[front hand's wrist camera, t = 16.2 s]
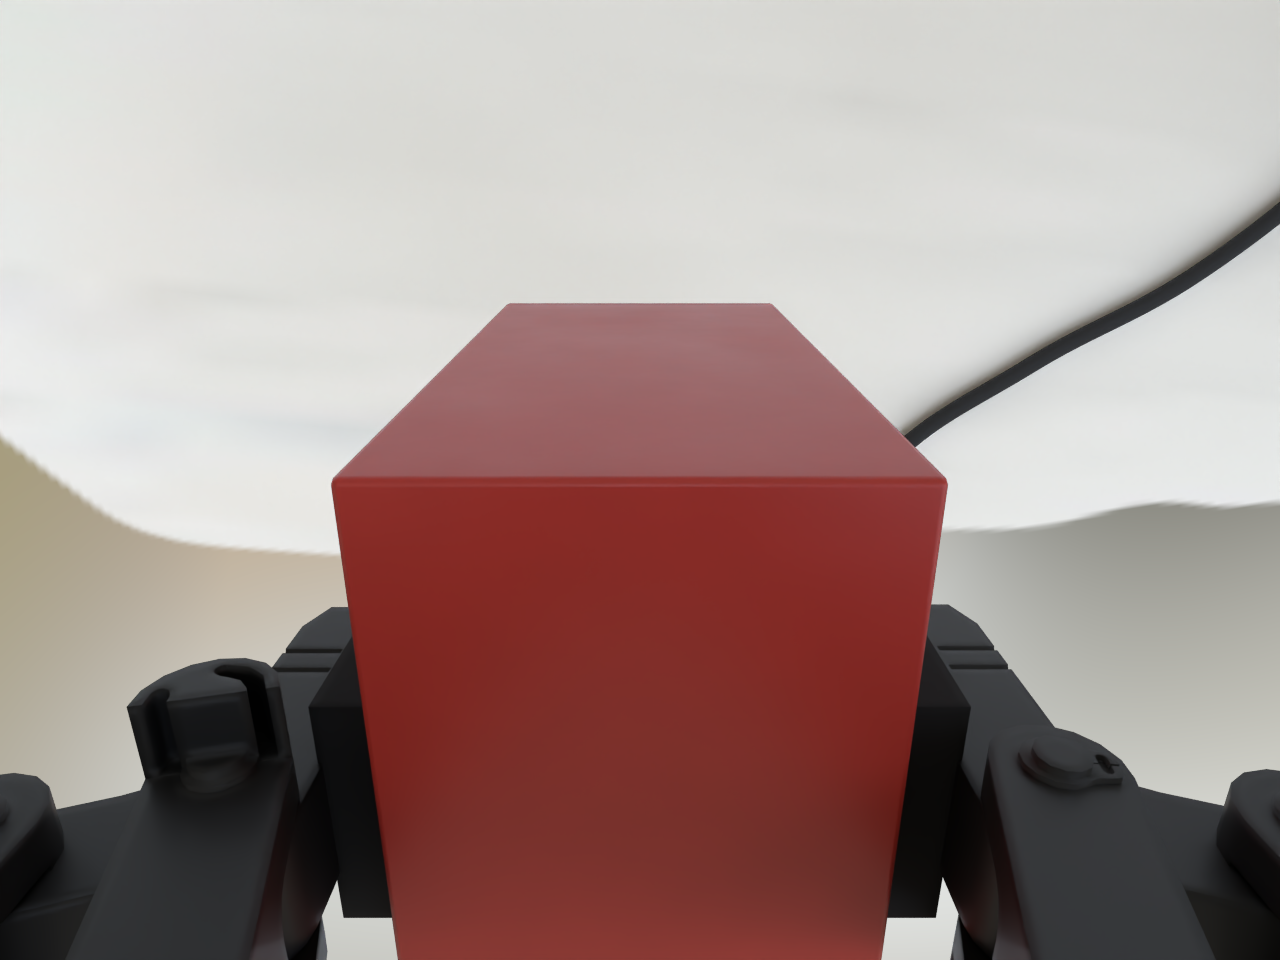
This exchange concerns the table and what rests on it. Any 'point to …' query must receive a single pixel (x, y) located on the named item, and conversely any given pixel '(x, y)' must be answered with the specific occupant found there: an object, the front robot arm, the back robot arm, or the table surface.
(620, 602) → the brick
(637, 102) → the table surface
